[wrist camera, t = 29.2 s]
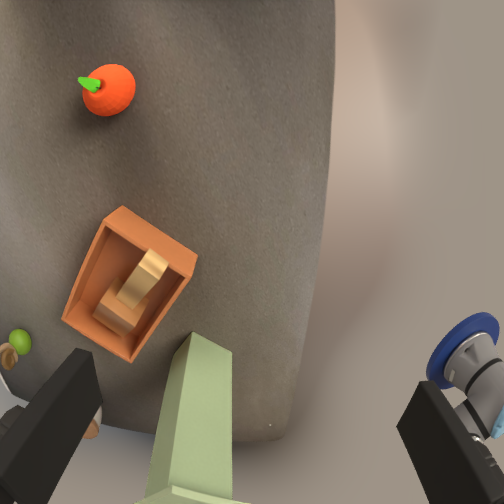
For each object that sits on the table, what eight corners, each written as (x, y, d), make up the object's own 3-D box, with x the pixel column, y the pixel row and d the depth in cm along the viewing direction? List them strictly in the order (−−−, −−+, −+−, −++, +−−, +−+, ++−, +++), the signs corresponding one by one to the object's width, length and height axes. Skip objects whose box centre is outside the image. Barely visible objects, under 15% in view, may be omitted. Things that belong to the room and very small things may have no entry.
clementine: (83, 104, 34) (57, 102, 27) (105, 60, 32) (82, 50, 25) (127, 124, 36) (106, 124, 29) (151, 79, 33) (134, 69, 27)
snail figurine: (29, 321, 47) (-1, 358, 36) (39, 346, 50) (13, 383, 39) (11, 318, 47) (-18, 352, 36) (21, 342, 49) (-4, 377, 38)
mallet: (139, 240, 34) (119, 268, 31) (179, 269, 36) (162, 300, 32) (106, 292, 44) (91, 315, 41) (136, 313, 46) (123, 338, 42)
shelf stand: (198, 314, 47) (171, 493, 20) (248, 342, 50) (260, 512, 22) (164, 357, 51) (130, 510, 23) (211, 380, 53) (203, 529, 26)
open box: (122, 204, 40) (103, 218, 34) (198, 255, 43) (191, 276, 37) (77, 297, 45) (60, 319, 39) (141, 337, 49) (131, 363, 43)
